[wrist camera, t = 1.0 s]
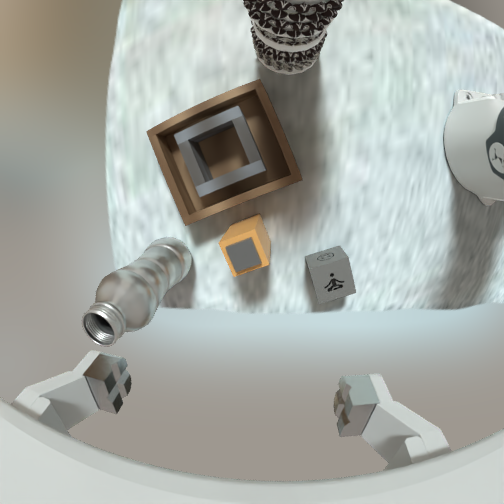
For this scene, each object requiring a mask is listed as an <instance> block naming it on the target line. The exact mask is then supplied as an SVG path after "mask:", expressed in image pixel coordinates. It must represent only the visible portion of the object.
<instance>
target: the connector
mask: <svg viewBox="0 0 504 504" xmlns="http://www.w3.org/2000/svg"><path fill="white" fill-rule="evenodd" d="M219 245H220V247H221V250H222V252H223V254H224V256H225V259H226V261H227V263H228V265H229V268H230V270H231V272H232V274H233V276H234V277H235V276H238V275H241V274H244V273H247V272H250V271H253V270H255V269H258V268H261V267H264V266H267V265H269V260H270V245H271V241H270V238H269V236H268V233H267V231H266V228H265V226H264V223H263V221H262V218H261V216H260V214H257V215H255V216H252V217H249V218H247V219H244V220H242V221H239V222H236V223H234V224H232V225H231V226H230V227H229V229H228V230H227V232H226V233H225V234H224V236H223V237H222V239H221V240H220V242H219Z"/></svg>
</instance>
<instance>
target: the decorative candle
mask: <svg viewBox="0 0 504 504" xmlns="http://www.w3.org/2000/svg"><path fill="white" fill-rule="evenodd" d="M243 1H244V6H245V7H246V8H247V10H248V12H249V13H248V14H249V16H250V18H251V19H252V21H251V24H252V25H253V27H252V28H251V33H252V37H253V44H254V48H255V50H256V53H257V56H258V59H259V60H260V61H261V62H262V64H263V65H264V66H265V67H266V68H268V69H270V70H272V71H274V72H276V73H281V74H287V75H292V74H297V73H302V72H304V71H306V70H307V69H309V68H311V67H312V66H313V64H314V63H315V61H316V60H317V59H318V55H319V54H320V51H321V48H322V47H323V44H324V41H325V37H326V36H327V32H326V29H327V27H328V26H329V25H330V24H331V22H332V21H333V20H334V18H335V17H336V16H337V11H338V10H340V9H341V8H342V3H341V2H342V1H344V0H243Z"/></svg>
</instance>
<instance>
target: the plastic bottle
mask: <svg viewBox="0 0 504 504" xmlns="http://www.w3.org/2000/svg"><path fill="white" fill-rule="evenodd" d="M191 261H192V259H191V254H190V251H189V249H188V247H187V246H186V245H185V244H184V243H183V242H182V241H180V240H178V239H176V238H172V237H165V238H161V239H158V240H155V241H154V242H152V243H151V244H150V245H149V246H148V247H147V249H146V250H145V251H144V253H143V254H142V255H141V256H140V257H139V258H138V259H137V260H135V261H134V262H132V263H131V264H129V265H127V266H125V267H123V268H121V269H118V270H116V271H114V272H112V273H110V274H109V275H107V276H105V277H104V278H103V279H102V281H101V283H100V284H99V286H98V288H97V291H96V299H95V303H94V304H93V305H92V306H91V307H90V309H89V310H88V311H87V312H86V313H85V314H84V316H83V317H82V326H83V329H84V331H85V333H86V334H87V336H88V337H89V338H90V339H91V340H92V341H93V342H95V343H96V344H98V345H100V346H104V347H109V346H112V345H113V344H114V343H115V342H116V341H117V340H118V339H119V338H120V337H121V336H122V335H123V334H124V333H125V332H132V331H137V330H139V329H141V328H143V327H145V326H146V325H148V324H149V322H150V321H151V320H152V318H153V316H154V314H155V312H156V310H157V308H158V306H159V304H160V301H161V300H162V298H163V297H164V295H165V294H166V292H167V291H168V290H169V289H170V288H171V287H172V286H174V285H175V284H177V283H178V282H180V281H181V280H182V279H184V278H185V277H186V275H187V274H188V272H189V269H190V266H191Z"/></svg>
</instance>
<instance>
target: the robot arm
mask: <svg viewBox="0 0 504 504" xmlns="http://www.w3.org/2000/svg"><path fill="white" fill-rule="evenodd" d="M466 96H467V97H466ZM467 98H468V99H467ZM444 145H445V152H446V156H447V160H448V163H449V166H450V168H451V170H452V172H453V174H454V176H455V177H456V179H457V180H458V182H459V183H460V184H461V185H462V186H463V187H464V188H466V189H467V190H469V191H471V192H473V193H474V194H476V195H477V196H478V198H479V199H480V200H481V202H482V203H483V204H484V205H486V206H491V205H492V204H493V203H495V202H496V201H497V200H500V201H504V93H501V94H493V95H491V94H486V93H480V92H474V91H468V90H457V91H456V92H455V95H454V106H453V109H452V111H451V112H450V114H449V116H448V118H447V121H446V125H445V131H444ZM126 367H127V362H126V359H124V358H122V357H119V356H115V355H110V354H107V353H102V352H99V351H95V350H91V351H89V353H88V354H87V355H86V356H85V357H84V358H83V360H82V361H81V362H80V363H79V364H78V365H77V367H76V368H75V369H74V370H73V371H72V372H70V371H68V372H66V373H63V374H60V375H58V376H55V377H53V378H50V379H48V380H45V381H42V382H39V383H37V384H34V385H31V386H29V387H26V388H25V389H24V390H23V391H22V392H21V394H20V395H19V396H18V397H17V398H16V399H15V400H14V401H13V403H12V404H10V403H8V402H6V401H5V400H3V399H2V398H0V504H504V429H502V430H500V431H498V432H496V433H494V434H492V435H490V436H488V437H486V438H484V439H481V440H479V441H477V442H475V443H472V444H470V445H467V446H465V447H462V448H460V449H457V450H455V451H451V449H450V447H449V445H448V443H447V441H446V439H445V437H444V435H443V433H442V431H441V429H440V428H438V427H437V426H435V425H433V424H432V423H430V422H429V421H427V420H425V419H424V418H422V417H421V416H419V415H418V414H416V413H414V412H413V411H411V410H410V409H408V408H407V407H405V406H404V405H402V404H400V403H399V402H397V401H395V402H394V401H393V399H392V397H391V395H390V393H389V391H388V388H387V386H386V384H385V382H384V380H383V378H382V376H381V374H379V373H377V374H367V375H355V376H342V377H341V378H340V381H339V387H340V389H339V390H338V391H337V392H336V394H335V398H334V412H335V415H336V416H337V417H338V418H339V420H338V422H337V427H338V431H339V436H340V437H344V436H357V435H361V436H362V437H363V439H364V440H365V441H366V442H367V443H368V444H370V446H371V447H373V448H374V449H375V450H376V451H377V452H378V453H379V454H380V455H381V456H382V457H383V458H384V459H385V460H386V461H387V462H388V463H389V464H388V465H387V466H386V468H385V469H384V470H383V471H381V472H376V473H370V474H364V475H358V476H351V477H344V478H334V479H324V480H308V481H255V480H240V479H228V478H219V477H211V476H205V475H198V474H192V473H187V472H181V471H176V470H171V469H167V468H162V467H158V466H154V465H150V464H147V463H143V462H139V461H136V460H133V459H129V458H126V457H123V456H120V455H116V454H114V453H111V452H108V451H105V450H102V449H99V448H97V447H94V446H92V445H89V444H87V443H85V442H82V441H80V440H77V439H75V438H73V437H71V435H70V434H69V432H68V431H67V430H68V429H70V428H71V427H73V426H75V425H76V424H78V423H79V422H81V421H83V420H84V419H86V418H87V417H89V416H91V415H92V414H94V413H95V412H97V411H98V410H99V409H100V410H104V411H107V412H111V413H114V414H117V413H118V412H119V410H120V408H121V406H122V404H123V400H122V398H124V397H126V396H127V395H128V394H129V392H130V389H131V376H130V374H129V373H128V371H127V370H126Z"/></svg>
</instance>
